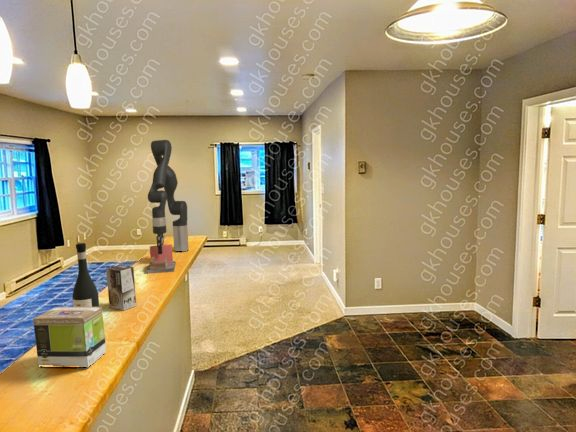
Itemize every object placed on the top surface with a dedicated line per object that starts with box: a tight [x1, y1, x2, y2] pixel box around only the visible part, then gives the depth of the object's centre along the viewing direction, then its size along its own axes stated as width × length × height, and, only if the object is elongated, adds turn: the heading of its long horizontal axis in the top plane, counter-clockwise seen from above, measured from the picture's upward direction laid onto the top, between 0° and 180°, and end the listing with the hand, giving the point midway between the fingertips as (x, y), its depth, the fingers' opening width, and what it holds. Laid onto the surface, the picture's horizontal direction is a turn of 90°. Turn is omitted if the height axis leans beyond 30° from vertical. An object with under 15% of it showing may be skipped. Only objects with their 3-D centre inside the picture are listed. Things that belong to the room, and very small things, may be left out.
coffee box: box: [105, 264, 137, 311], centre depth 161 cm, size 9×6×16 cm
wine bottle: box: [72, 242, 100, 307], centre depth 139 cm, size 8×8×30 cm
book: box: [149, 244, 174, 263], centre depth 236 cm, size 4×12×10 cm, turn 103°
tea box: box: [32, 306, 107, 367], centre depth 116 cm, size 15×10×15 cm, turn 84°
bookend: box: [164, 256, 173, 268], centre depth 223 cm, size 10×4×4 cm, turn 13°
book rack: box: [145, 257, 177, 275], centre depth 222 cm, size 18×14×6 cm
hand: (161, 252), depth 236 cm, fingers open, 8 cm apart
